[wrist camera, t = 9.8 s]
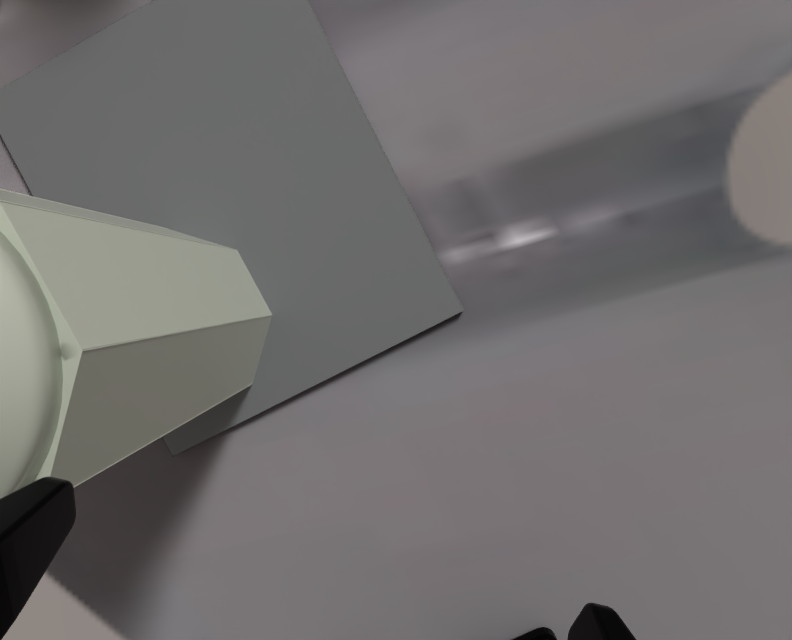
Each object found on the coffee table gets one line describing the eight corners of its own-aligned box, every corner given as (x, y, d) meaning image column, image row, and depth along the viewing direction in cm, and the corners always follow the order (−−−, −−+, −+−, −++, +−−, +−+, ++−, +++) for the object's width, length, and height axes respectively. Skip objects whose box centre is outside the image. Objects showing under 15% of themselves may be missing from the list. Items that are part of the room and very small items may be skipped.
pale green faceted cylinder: (297, 360, 21) (114, 470, 8) (148, 439, 21) (-235, 654, 9) (212, 203, 20) (-110, 70, 8) (63, 287, 21) (-457, 286, 8)
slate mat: (463, 310, 21) (463, 310, 20) (177, 453, 22) (172, 456, 21) (275, -63, 20) (273, -70, 20) (-11, 103, 21) (-19, 99, 21)
